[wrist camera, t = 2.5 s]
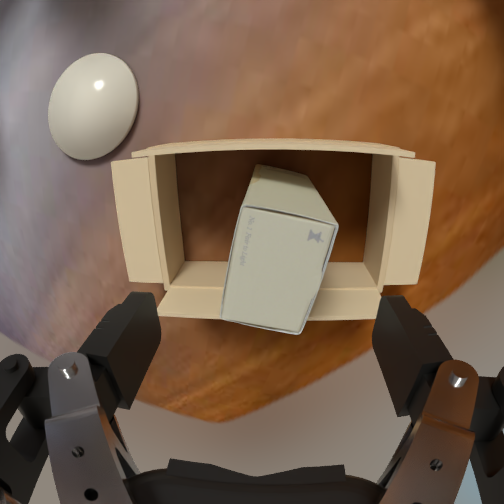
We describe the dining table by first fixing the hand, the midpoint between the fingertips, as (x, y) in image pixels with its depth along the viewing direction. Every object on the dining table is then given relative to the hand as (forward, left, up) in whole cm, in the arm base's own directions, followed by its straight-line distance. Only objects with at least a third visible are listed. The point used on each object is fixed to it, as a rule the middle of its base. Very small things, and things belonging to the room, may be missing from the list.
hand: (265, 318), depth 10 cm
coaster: (+16, -10, -16) cm, 24 cm away
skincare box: (0, 0, -16) cm, 16 cm away
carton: (0, 0, -16) cm, 16 cm away
